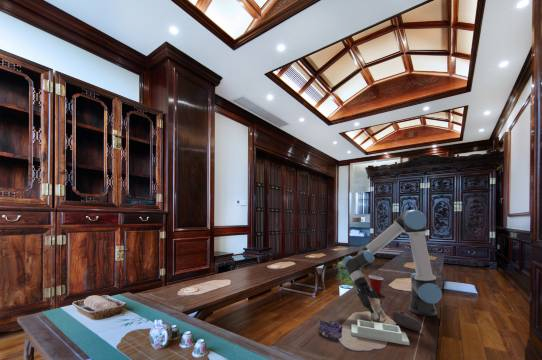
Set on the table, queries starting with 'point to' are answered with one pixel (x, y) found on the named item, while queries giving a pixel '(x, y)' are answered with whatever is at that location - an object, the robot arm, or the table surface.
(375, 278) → the plastic cup
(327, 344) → the table surface
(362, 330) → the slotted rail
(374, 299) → the birch peg
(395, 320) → the perforated stone tool
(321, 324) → the mineral specimen
